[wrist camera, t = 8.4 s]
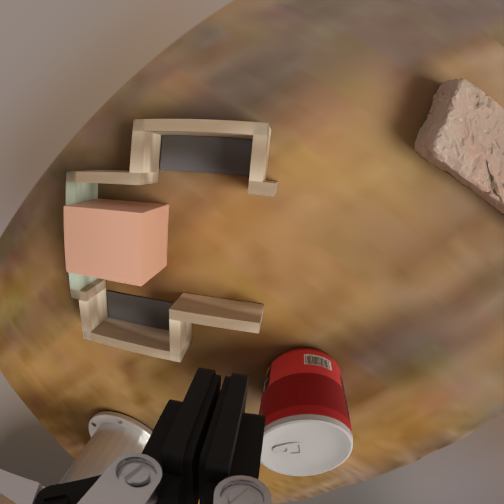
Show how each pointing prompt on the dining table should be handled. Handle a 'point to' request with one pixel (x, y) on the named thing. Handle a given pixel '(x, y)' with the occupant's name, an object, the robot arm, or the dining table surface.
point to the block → (116, 239)
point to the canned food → (304, 414)
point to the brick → (466, 139)
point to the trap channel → (146, 172)
